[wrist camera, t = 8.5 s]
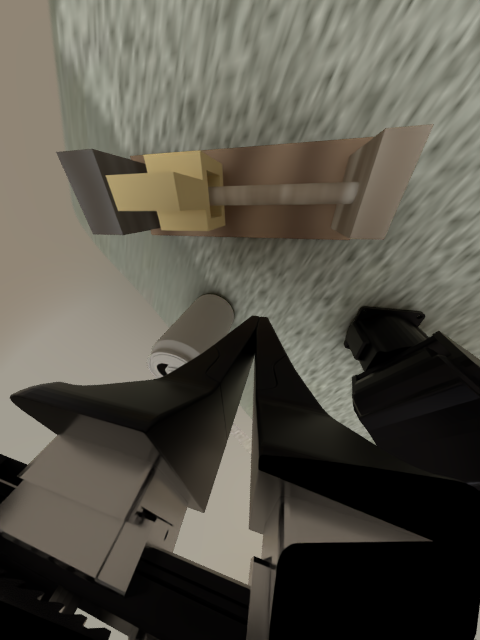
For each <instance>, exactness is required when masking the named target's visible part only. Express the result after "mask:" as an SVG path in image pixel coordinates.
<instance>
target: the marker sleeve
mask: <svg viewBox="0 0 480 640" xmlns="http://www.w3.org/2000/svg"><path fill="white" fill-rule="evenodd" d="M143 156H144V160H145V164H146V168H147V172H148V173H139V174H120V175H106V178H107V181H108V184H109V187H110V189H111V192H112V195H113V198H114V201H115V204H116V206H117V209H118V211H157V214H158V218H159V222H160V226H161V230H171V231H210V230H213V229H216V228H219V227H222V226H225V209H224V205H220V206H210V203H209V192H208V187H220V186H223V170H222V164H221V163H220V162H218V161H216V160H215V159H213V158H211V157H210V156H208V155H207V154H205V153H203V152H202V151H200V150H198V151H186V152H173V153H161V154H148V155H143Z"/></svg>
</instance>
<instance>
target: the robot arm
mask: <svg viewBox="0 0 480 640" xmlns="http://www.w3.org/2000/svg"><path fill="white" fill-rule="evenodd" d="M364 310H366V311H365V312H363V311H364ZM419 315H420V316H419ZM417 316H419V317H417ZM424 318H425V314H423V313H422V312H419V311H408V310H397V309H387V308H376V307H362V308H360V309H359V312H358V314H357V316H356V318H355V320H354V322H352V323H351V326H350V328H349V330H348V332H347V335H346V337H345V338H346V340H345V342H344V346H345V348H347V349H351V351H352V354H353V356H354V358H355V359H356V360H359V361H360V364H361V366H362V368H363V370H364V372H363V373H361V374H359V375H355V376H353V377H352V399H353V407H354V411H355V413H356V414H357V416H358V418H359V420H360V422H361V423H362V424H363V425H364V427H365V428H366V429H367V431H368V432H369V434H370V435H371V437H372V439H373V440H374V442H375V443H376V445H377V446H376V445H374V444H373V443H371V442H370V441H368V440H366V439H365V438H363V437H362V436H360V435H359V434H357V433H355V432H354V431H352V430H351V429H349V428H347V427H346V426H344V425H343V424H341V423H340V422H338V421H336V420H335V419H333V418H332V417H331V416H330V415H329V414H328V413H327V412H326V411H325V410H324V409H323V408H322V407H321V406H320V404H319V403H318V402H317V400H316V399H315V397H314V396H313V394H312V393H311V392H310V390H309V389H308V387H307V386H306V385H305V383H304V382H303V380H302V379H301V377H300V376H299V375H298V373H297V372H296V370H295V368H294V367H293V365H292V363H291V361H290V359H289V357H288V356H287V354H286V352H285V350H284V348H283V346H282V344H281V342H280V340H279V338H278V336H277V335H276V333H275V331H274V329H273V327H272V325H271V323H270V321H269V319H268V318H267V317H259V316H251V317H250V318H248V319H247V320H246V321H244V322H243V323H242V324H240V325H239V326H238V327H237V328H235V329H234V330H233V331H231V332H230V333H229V334H227V335H226V336H225V337H223V338H222V339H221V340H219V341H218V342H217V343H215V344H214V345H213V346H211V347H210V348H209V349H207V350H206V351H204V352H203V353H201V354H200V355H198V356H197V357H195V358H194V359H192V360H190V361H189V362H187V363H185V364H184V365H182V366H180V367H179V368H177V369H175V370H174V371H172V372H170V373H169V374H167V375H165V376H163V377H160V378H157V379H153V380H146V381H134V382H125V383H115V384H104V385H87V386H82V385H72V384H68V383H63V382H53V383H46V384H40V385H36V386H32V387H29V388H26V389H23V390H20V391H18V392H16V393H14V394H12V395H11V396H10V399H11V401H12V402H13V403H14V404H15V405H16V406H18V407H19V408H20V409H21V410H23V411H24V412H26V413H27V414H28V415H30V416H32V417H33V418H34V419H36V420H37V421H38V422H40V423H41V424H43V425H44V426H46V427H47V428H48V429H50V430H51V431H53V432H54V433H55V434H57V436H56V437H55V438H54V439H53V440H52V441H51V442H50V443H49V444H48V445H47V446H46V447H45V448H44V450H42V451H41V452H40V453H39V455H37V456H36V457H35V458H34V460H32V461H31V462H30V463H29V464H28V465H27V464H24V463H22V462H19V461H17V460H14V459H11V458H9V457H7V456H4V455H2V454H0V640H108V639H109V636H110V633H111V631H109V630H108V629H106V628H90V629H88V628H86V627H84V624H85V622H86V620H87V617H85V616H83V615H82V614H77V615H75V614H74V613H75V611H76V610H77V608H79V609H81V610H83V611H85V612H87V613H88V614H90V615H92V616H93V617H95V618H97V619H99V620H100V621H102V622H104V623H106V624H107V625H109V626H111V627H113V628H115V629H116V630H118V631H120V632H122V633H124V634H125V635H127V636H128V640H474V638H475V635H476V631H477V622H478V614H479V606H480V360H479V359H478V358H477V357H475V356H474V355H473V354H471V353H470V352H468V351H467V350H465V349H464V348H463V347H461V346H460V345H458V344H457V343H456V342H454V341H453V340H451V339H450V338H449V337H447V336H446V335H444V334H443V333H441V332H440V331H438V332H436V333H434V334H432V335H433V336H431V337H428V336H427V335H426V334H425V333H424V332H423V331H422V330H421V329H420V328H419V327H418V326H419V325H420V324H421V322H422V321H423V319H424ZM254 355H255V364H254V394H253V424H252V454H251V484H250V486H251V487H250V513H249V514H250V516H249V529H250V530H252V531H255V532H258V533H260V534H263V545H262V559H260V558H257V557H255V556H254V557H252V558H251V563H250V573H249V583H248V585H247V584H244V583H242V582H240V581H237V580H235V579H233V578H230V577H228V576H226V575H223V574H221V573H218V572H216V571H214V570H211V569H209V568H207V567H205V566H202V565H200V564H197V563H195V562H193V561H191V560H188V559H186V558H183V557H181V556H178V555H177V554H174V553H173V550H174V547H175V544H176V541H177V537H178V534H179V531H180V527H181V525H182V522H183V519H184V515H185V513H186V510H187V507H189V508H191V509H194V510H197V511H200V512H202V513H204V512H205V509H206V506H207V503H208V500H209V496H210V494H211V490H212V487H213V484H214V481H215V478H216V475H217V471H218V469H219V465H220V462H221V459H222V456H223V453H224V450H225V447H226V443H227V440H228V437H229V434H230V431H231V428H232V425H233V421H234V418H235V415H236V412H237V409H238V406H239V403H240V400H241V396H242V393H243V390H244V387H245V384H246V381H247V378H248V375H249V371H250V368H251V365H252V362H253V359H254Z"/></svg>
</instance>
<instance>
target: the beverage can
mask: <svg viewBox="0 0 480 640" xmlns="http://www.w3.org/2000/svg"><path fill="white" fill-rule="evenodd" d="M233 321H234V313H233V310H232V307H231V306H230V304H229V303H228V302H227V301H226V300H224V299H223V298H221V297H219V296H217V295H212V294H206V295H202V296H200V297H199V298H198V299H197V300H196V301H195V302H194V303H193V304H192V305H191V306H190V307H189V308H188V309H187V310H186V311H185V312H184V313H183V314H182V315H181V317H180V318H179V319H178V320H177V321H176V322H175V323H174V324H173V325H172V326H171V327H170V328H169V329H168V330H167V331H166V333H164V335H163V336H162V337H161V338H160V339H159V340H158V341H157V342H156V343H155V344H154V345H153V347H152V351H151V354H150V356H149V357H148V359H147V366H148V369H149V371H150V372H151V373H152V375H153V376H154V377H155V378H156V379H157V378H160V377H163V376H165V375H167V374H169V373H170V372H172V371H174V370H175V369H177V368H179V367H180V366H182V365H184V364H185V363H187V362H189V361H190V360H192V359H194V358H195V357H197V356H198V355H200V354H201V353H203V352H204V351H206V350H207V349H209V348H210V347H211V346H213V345H214V344H215V343H217V342H218V341H219V340H221V339H222V338H223V337H225V336H226V335H227V334H228V332H229V330H230V328H231V325H232V323H233Z"/></svg>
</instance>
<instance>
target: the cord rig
mask: <svg viewBox="0 0 480 640" xmlns="http://www.w3.org/2000/svg"><path fill="white" fill-rule="evenodd" d="M433 125H434V124H430V125H419V126H407V127H395V128H386V129H384V130H383V131H382V132H380V133H379V134H378V135H376V136H375V137H366V138H353V139H341V140H328V141H315V142H303V143H290V144H277V145H265V146H252V147H239V148H227V149H214V150H201V151H202V152H203V153H205V154H207V155H208V156H210V157H211V158H213V159H215V160H216V161H218V162H220V163H221V164H222V170H223V186H220V187H208V192H209V203H210V206H220V205H224V209H225V226H222V227H219V228H216V229H213V230H210V231H171V230H161V226H160V222H159V218H158V214H157V211H118V209H117V206H116V204H115V201H114V198H113V195H112V192H111V189H110V187H109V184H108V181H107V178H106V175H120V174H139V173H148V172H147V168H146V164H145V160H144V156H143V155H138V156H130V157H131V160H130V159H126V158H123V157H119V156H115V155H112V154H108V153H105V152H101V151H98V150H94V149H84V150H74V151H63V152H57V155H58V157H59V160H60V162H61V164H62V166H63V168H64V171H65V173H66V175H67V177H68V179H69V182H70V184H71V186H72V188H73V191H74V193H75V195H76V197H77V199H78V202H79V204H80V206H81V208H82V210H83V213H84V215H85V217H86V219H87V222H88V224H89V226H90V228H91V230H92V233H93V234H103V235H126V234H131V233H137V232H142V231H147V230H151V234H152V235H176V236H215V237H253V238H291V239H330V240H350V239H382V240H384V238H385V236H386V234H387V231H388V229H389V227H390V224H391V222H392V220H393V217H394V215H395V213H396V211H397V208H398V206H399V204H400V201H401V199H402V197H403V194H404V192H405V190H406V187H407V185H408V183H409V180H410V178H411V176H412V173H413V171H414V169H415V167H416V164H417V162H418V160H419V157H420V155H421V153H422V150H423V148H424V146H425V143H426V141H427V139H428V136H429V134H430V132H431V129H432V127H433Z"/></svg>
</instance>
